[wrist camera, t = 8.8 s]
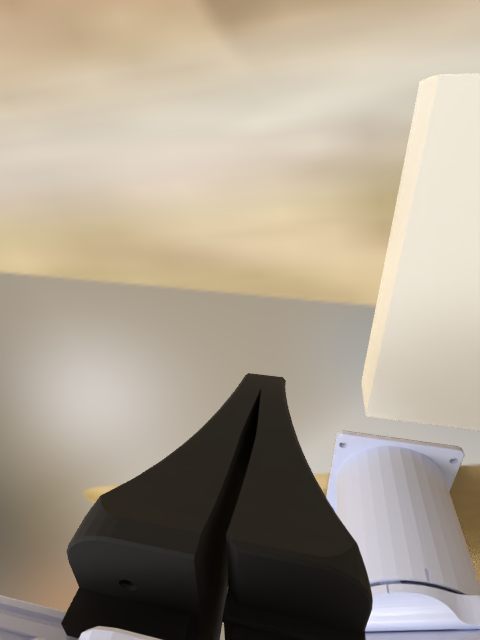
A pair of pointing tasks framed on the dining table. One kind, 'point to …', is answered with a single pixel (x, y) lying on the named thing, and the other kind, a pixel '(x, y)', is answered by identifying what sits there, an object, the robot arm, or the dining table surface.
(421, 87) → the cream flat block
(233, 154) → the dining table surface
